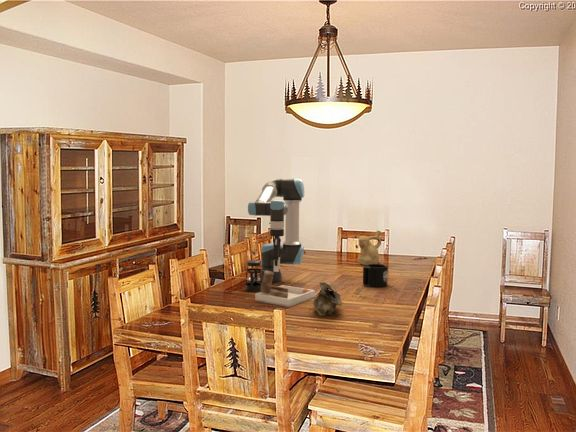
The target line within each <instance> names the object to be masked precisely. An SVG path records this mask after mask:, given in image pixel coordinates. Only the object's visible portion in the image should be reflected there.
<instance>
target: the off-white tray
mask: <svg viewBox="0 0 576 432" xmlns="http://www.w3.org/2000/svg"><path fill="white" fill-rule="evenodd" d="M277 287H282V288H287V289H288V297H287V298H283V297H279V296H274V295H269V293H264V292H261V291H258V292H255V293H254V294H255V298H254V299H255V302H258V303H265V304H270V305H276V306H282V307H286V308H291V307H293V306H295V305H298V304H301V303H304V302H306V301H309V300H311V299H314V298H316V290H314V289H310V288H307V289H308V290H309V292H307V293H304V294H303V293H302V292H303V290H304V289H305V288H303V287H297V286H290V285H284V284H282V285H279V286H277Z"/></svg>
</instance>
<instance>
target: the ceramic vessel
mask: <svg viewBox="0 0 576 432" xmlns="http://www.w3.org/2000/svg"><path fill="white" fill-rule="evenodd" d="M381 233H382V231H380V230H378V229H377V230H376V232H375V235H370V236H366V235H361V236H360V237H358V246H359V248H360V255H359V256H358V257H357V262H358V263H359V264H361V265H363V266H367V265H369V264H380V263H379V262H380V255H379V254H380V253H379V250H378V249H379V248H380V246H381V245H382V240H381V237H380V236H381ZM371 240H377V243H376V244H373V243H372V242H371Z"/></svg>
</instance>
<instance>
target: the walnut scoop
mask: <svg viewBox="0 0 576 432" xmlns="http://www.w3.org/2000/svg"><path fill="white" fill-rule="evenodd" d="M273 275H274V272H271V271H267V270H265V272H264V277H263V281H261V285H262V286H261V291H260V292H264V293H269V295H274V296H279V297H283V298H287V297H288V289H287V288H282V287H278V286H277V285H272V284H273V282H272V280H273Z"/></svg>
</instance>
